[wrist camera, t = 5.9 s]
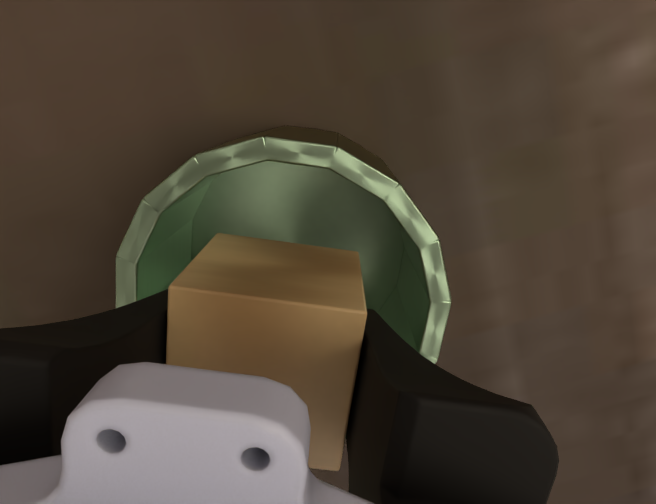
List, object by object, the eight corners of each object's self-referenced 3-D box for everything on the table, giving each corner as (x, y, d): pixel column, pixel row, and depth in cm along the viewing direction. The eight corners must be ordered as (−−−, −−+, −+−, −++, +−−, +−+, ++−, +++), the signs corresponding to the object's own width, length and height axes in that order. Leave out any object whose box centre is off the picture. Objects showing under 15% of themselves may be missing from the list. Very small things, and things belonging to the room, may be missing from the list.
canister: (438, 145, 20) (484, 166, 13) (393, 367, 23) (414, 464, 17) (184, 110, 19) (113, 114, 13) (175, 339, 23) (115, 427, 16)
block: (359, 251, 14) (367, 311, 10) (339, 374, 16) (339, 472, 12) (216, 232, 14) (167, 285, 10) (208, 357, 16) (162, 451, 12)
